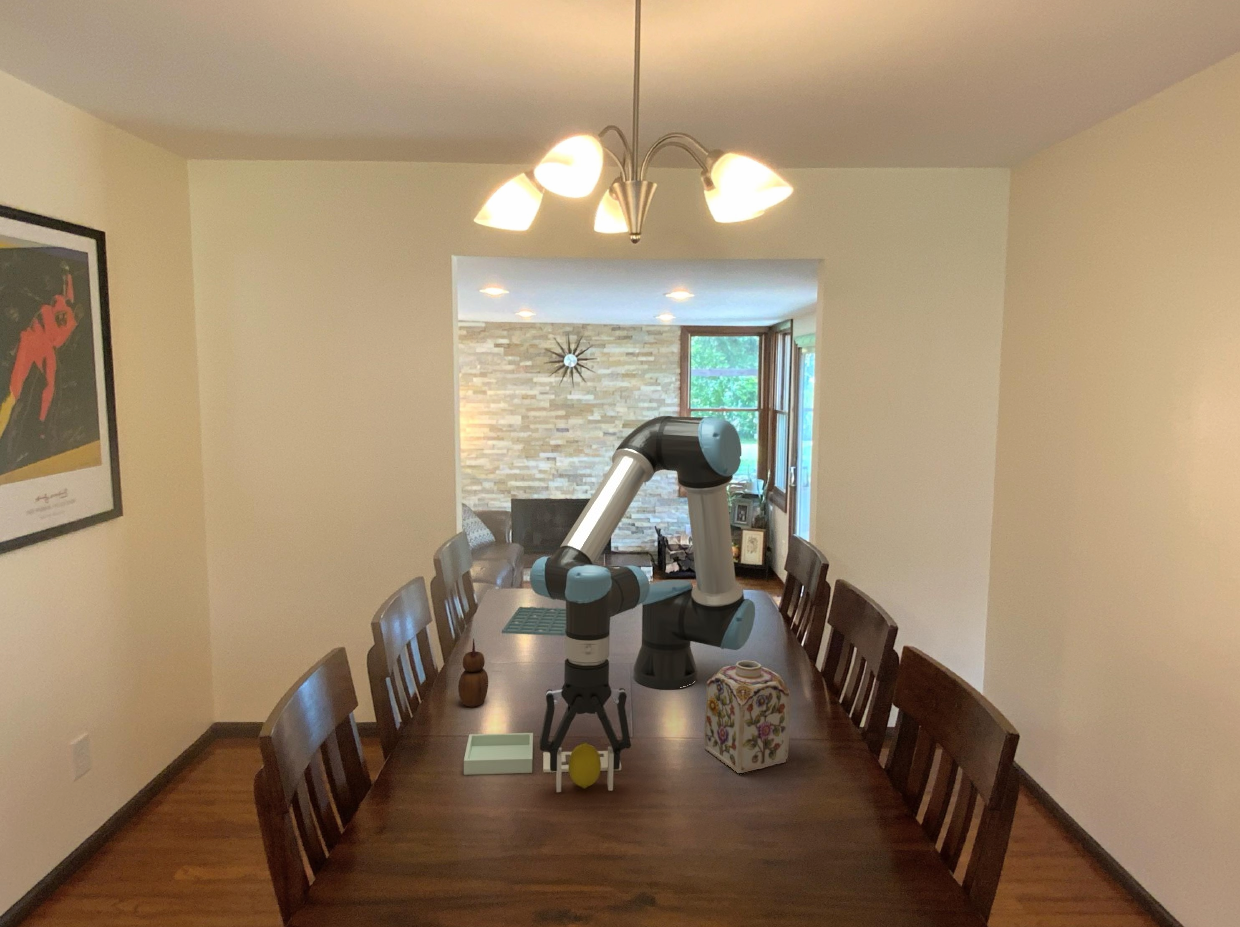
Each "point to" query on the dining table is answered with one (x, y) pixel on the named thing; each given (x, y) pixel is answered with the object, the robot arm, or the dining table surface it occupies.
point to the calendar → (537, 621)
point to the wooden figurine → (473, 679)
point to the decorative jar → (747, 716)
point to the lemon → (584, 765)
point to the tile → (565, 761)
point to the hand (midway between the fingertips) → (584, 787)
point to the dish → (499, 753)
